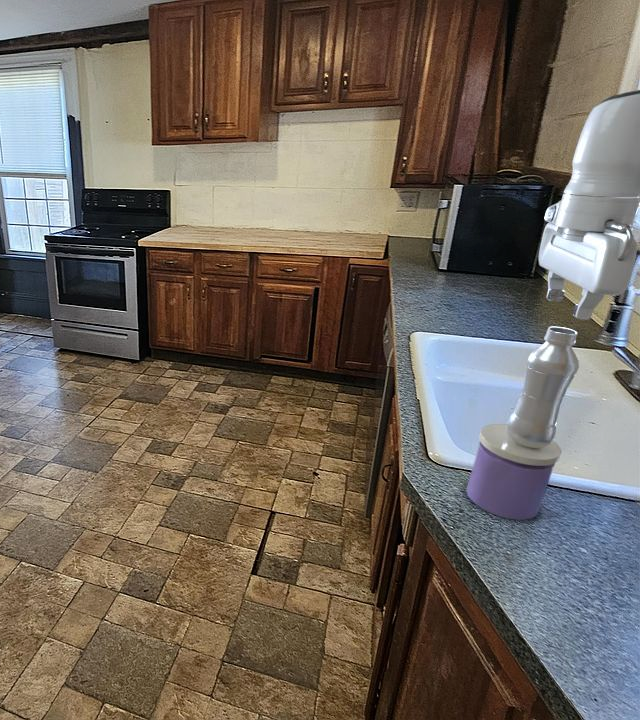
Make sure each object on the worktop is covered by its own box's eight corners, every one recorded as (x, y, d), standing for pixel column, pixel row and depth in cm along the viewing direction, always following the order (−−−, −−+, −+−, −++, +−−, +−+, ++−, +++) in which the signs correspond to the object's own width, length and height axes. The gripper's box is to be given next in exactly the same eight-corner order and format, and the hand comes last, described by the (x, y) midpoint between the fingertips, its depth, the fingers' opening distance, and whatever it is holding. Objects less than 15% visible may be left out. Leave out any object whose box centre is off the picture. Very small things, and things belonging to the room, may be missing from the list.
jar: (525, 485, 98) (544, 428, 93) (551, 526, 87) (574, 464, 83) (457, 476, 100) (472, 419, 96) (474, 514, 90) (492, 453, 85)
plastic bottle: (504, 429, 93) (536, 321, 85) (550, 440, 89) (588, 329, 82) (501, 444, 88) (535, 331, 80) (550, 458, 84) (590, 340, 77)
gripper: (665, 227, 65) (627, 332, 71) (587, 209, 84) (561, 293, 89) (606, 225, 67) (573, 328, 72) (542, 207, 85) (519, 291, 90)
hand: (566, 309), depth 81 cm, fingers open, 8 cm apart
